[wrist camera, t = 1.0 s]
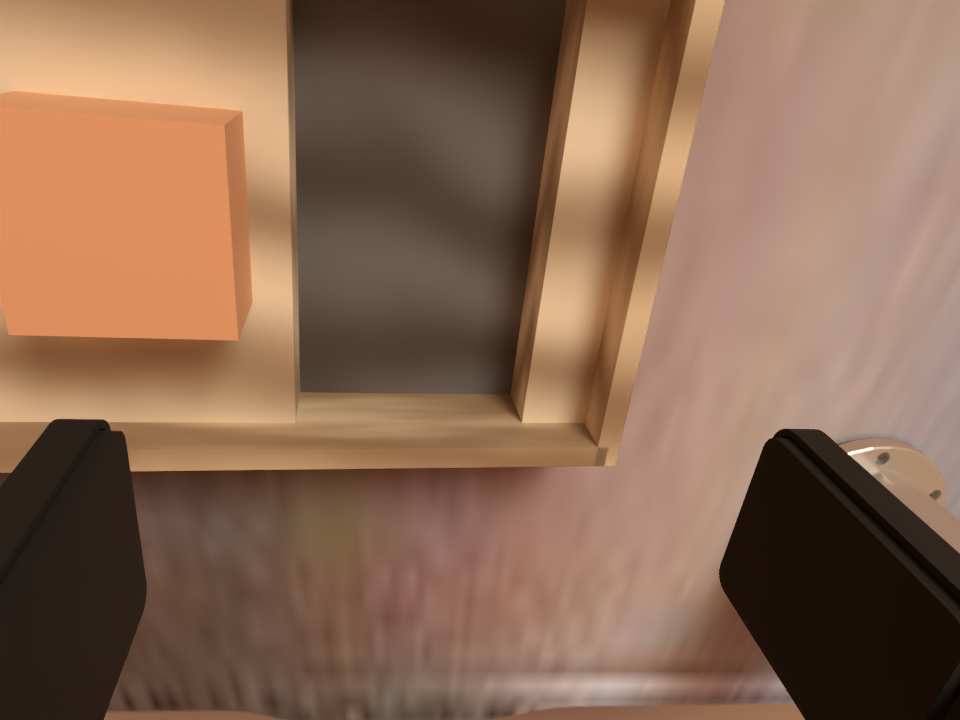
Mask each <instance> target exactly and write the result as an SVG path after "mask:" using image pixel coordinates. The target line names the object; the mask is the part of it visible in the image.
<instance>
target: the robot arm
mask: <svg viewBox="0 0 960 720" xmlns="http://www.w3.org/2000/svg"><path fill="white" fill-rule="evenodd" d="M945 501H946V495H945V484H944V481H943V477H942V474H941V472H940V471H939V469H938V468H937V467H936V465H935V464H934V462H932V461H931V460H930V459H929V458H927V457H926V456H925V455H924V454H922V453H921V452H920V451H919V450H917V449H915V448H914V447H912V446H910V445H908V444H906V443H903V442H899V441H896V440H892V439H877V438H871V439H863V440H856V441H851V442H848V443H844V444H841V445H838V444H836V443H835V442H834V441H833V440H832V439H831V438H830V437H829V436H827V435H826V434H825V433H824V432H822V431H820V430H815V429H782V430H780V431H778V432H777V433H776V434H775V435H774V437H773V438H771V439H769V440H768V441H767V442H766V443H765V445H764V447H763V450H762V452H761V455H760V458H759V461H758V463H757V466H756V469H755V472H754V474H753V477H752V480H751V483H750V485H749V488H748V491H747V494H746V496H745V499H744V502H743V505H742V507H741V510H740V513H739V516H738V518H737V521H736V524H735V527H734V529H733V532H732V535H731V538H730V540H729V543H728V546H727V549H726V551H725V554H724V557H723V559H722V562H721V565H720V569H719V577H720V583H721V586H722V588H723V590H724V592H725V594H726V595H727V597H728V598H729V600H730V602H731V603H732V605H733V606H734V608H735V610H736V611H737V613H738V614H739V616H740V617H741V619H742V621H743V622H744V624H745V625H746V627H747V628H748V630H749V632H750V633H751V635H752V636H753V638H754V639H755V641H756V643H757V644H758V646H759V647H760V649H761V651H762V652H763V654H764V655H765V657H766V658H767V660H768V662H769V663H770V665H771V666H772V668H773V669H774V671H775V673H776V674H777V676H778V677H779V679H780V680H781V682H782V684H783V685H784V687H785V688H786V690H787V692H788V693H789V695H790V696H791V698H792V699H793V701H794V703H795V704H796V706H797V707H798V709H799V710H800V712H801V713H802V715H803V717H804V718H805V720H960V521H959V520H958V519H957V518H956V517H954V516H953V515H952V514H951V513H950V512H949V511H947V510H946V509H945V508H944V506H945ZM146 589H147V587H146V577H145V570H144V563H143V556H142V549H141V542H140V535H139V528H138V521H137V514H136V507H135V500H134V493H133V486H132V479H131V472H130V465H129V458H128V451H127V444H126V438H125V435H124V433H123V432H122V431H111V429H110V426H109V424H108V422H107V421H105V420H104V419H55V420H53V421H52V422H51V423H50V424H49V425H48V426H47V428H46V429H45V430H44V431H43V433H42V434H41V435H40V437H39V438H38V439H37V440H36V442H35V443H34V444H33V446H32V447H31V448H30V450H29V451H28V452H27V453H26V455H25V456H24V457H23V459H22V460H21V461H20V462H19V464H18V465H17V466H16V468H15V469H14V470H13V472H12V473H11V474H10V475H9V477H8V478H7V479H6V481H5V482H4V483H3V485H2V486H1V487H0V720H103V719H104V717H105V714H106V711H107V709H108V706H109V703H110V700H111V698H112V695H113V692H114V690H115V687H116V684H117V681H118V679H119V676H120V673H121V671H122V668H123V665H124V662H125V660H126V657H127V654H128V652H129V649H130V646H131V643H132V641H133V638H134V635H135V633H136V630H137V627H138V624H139V622H140V619H141V616H142V613H143V610H144V606H145V601H146Z"/></svg>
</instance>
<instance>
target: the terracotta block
mask: <svg viewBox="0 0 960 720" xmlns="http://www.w3.org/2000/svg"><path fill="white" fill-rule="evenodd" d="M0 299H1V303H2V308H3V312H4V316H5V320H6V325H7V329H8V333H9V335H29V336H70V337H112V338H153V339H195V340H236V341H238V340H239V337H240V334H241V332H242V329H243V326H244V324H245V321H246V318H247V316H248V313H249V310H250V308H251V305H252V302H253V298H252V279H251V260H250V241H249V222H248V203H247V184H246V165H245V146H244V127H243V111H240V110H228V109H217V108H205V107H194V106H182V105H171V104H159V103H148V102H136V101H125V100H113V99H102V98H90V97H79V96H67V95H56V94H44V93H33V92H21V91H10V92H5V93H1V94H0Z"/></svg>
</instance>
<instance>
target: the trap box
mask: <svg viewBox="0 0 960 720" xmlns="http://www.w3.org/2000/svg"><path fill="white" fill-rule="evenodd" d="M724 2H725V0H0V94H1V93H5V92H10V91H21V92H33V93H44V94H56V95H67V96H79V97H90V98H102V99H113V100H125V101H136V102H148V103H159V104H171V105H182V106H194V107H205V108H217V109H228V110H240V111H243V127H244V146H245V165H246V184H247V203H248V222H249V241H250V260H251V279H252V298H253V302H252V305H251V308H250V310H249V313H248V316H247V318H246V321H245V324H244V326H243V329H242V332H241V334H240V337H239V340H238V341H236V340H195V339H153V338H112V337H70V336H29V335H9V333H8V329H7V325H6V320H5V316H4V312H3V308H2V303H1V299H0V473H12V472H13V470H14V469H15V468H16V466H17V465H18V464H19V462H20V461H21V460H22V459H23V457H24V456H25V455H26V453H27V452H28V451H29V450H30V448H31V447H32V446H33V444H34V443H35V442H36V440H37V439H38V438H39V437H40V435H41V434H42V433H43V431H44V430H45V429H46V428H47V426H48V425H49V424H50V423H51V422H52V421H53V420H55V419H104V420H105V421H107V422H108V424H109V426H110V429H111V431H122V432H123V433H124V435H125V438H126V444H127V451H128V458H129V465H130V471H206V470H294V469H383V468H471V467H560V466H615V464H616V459H617V455H618V451H619V447H620V442H621V438H622V434H623V430H624V425H625V421H626V417H627V413H628V409H629V404H630V400H631V396H632V392H633V387H634V383H635V379H636V375H637V370H638V366H639V362H640V358H641V354H642V349H643V345H644V341H645V337H646V332H647V328H648V324H649V320H650V315H651V311H652V307H653V303H654V299H655V294H656V290H657V286H658V282H659V277H660V273H661V269H662V265H663V260H664V256H665V252H666V248H667V243H668V239H669V235H670V231H671V227H672V222H673V218H674V214H675V210H676V205H677V201H678V197H679V193H680V188H681V184H682V180H683V176H684V172H685V167H686V163H687V159H688V155H689V150H690V146H691V142H692V138H693V133H694V129H695V125H696V121H697V117H698V112H699V108H700V104H701V100H702V95H703V91H704V87H705V83H706V78H707V74H708V70H709V66H710V61H711V57H712V53H713V49H714V45H715V40H716V36H717V32H718V28H719V23H720V19H721V15H722V11H723V6H724Z"/></svg>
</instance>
